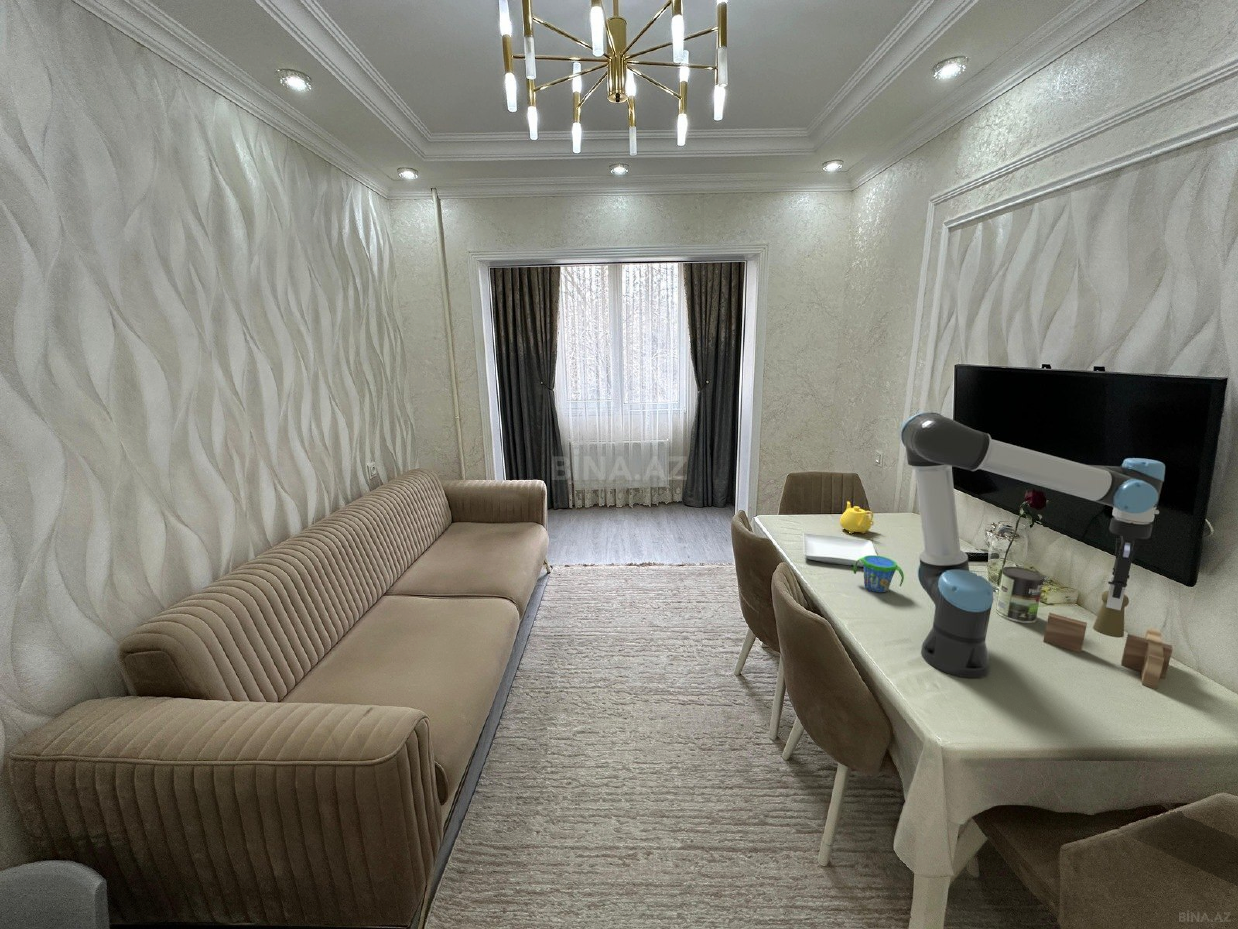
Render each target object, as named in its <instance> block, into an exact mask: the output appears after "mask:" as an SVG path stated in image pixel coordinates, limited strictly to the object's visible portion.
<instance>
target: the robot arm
mask: <svg viewBox="0 0 1238 929" xmlns="http://www.w3.org/2000/svg"><path fill="white" fill-rule="evenodd" d="M900 439H901V442H902V444H903V446H904V447H905V452H906V459H907V460H906V461H907V466H909V467H910V468H911V469H913V470H914V472H915V474H914V475H915V481H916V489H917V490H916V491H917V499H918V506H919V512H920V513H919V515H920V523H921V530H922V539H923V549H924V550H923V551H922V552H921V553H919V555H918V558H919V565H918V567H917V568H918V569H917V579H918V581H919V584H920V585H921V587H922V589H923V590H924V591H925V592H926V594H927V595H928V596H929V598H930V599H931V601H932V602H933V604H934V605H935V606H934V607H935V608H934V615H933V622H932V627H931V628H930V630H929V632H928V634H927V636H926V637H925V639H924V640H923V642H922V644H921V649H920V651H921V652H920V653H921V656H922V659H924V661H925V662H926V663H928V664H929V665H930V666H932V667H934V668H936V669H937V670H939V671H941V672H944V673H946V674H949V675H952V676H957V677H961V678H967V679H979V678H984V677H986V676H987V675H988V673H989V672H990V667H991V663H990V662H991V661H990V657H989V652H988V646H987V643H986V638H987V633H988V627H989V623H990V618H991V611H992V606H993V604H994V588H993V585H992V584H991V583H990V582H989V581H988V579H986V578H985V577H983V576H981V575H977V573H975V572H973V571H970V565H969V556H968V554H967V553H966V552H964V550H963V551H962V549H961V543H960V534H959V525H958V516H957V515H958V514H957V506H956V498H955V489H954V488H955V487H954V478H953V469H952V467H954V468H955V467H956V468H960V469H964V470H966V471H971V472H975V471H977V470H982V471H985V472H986V471H987V472H990V473H993V474H996V475H1001V476H1004V477H1007V478H1011V479H1014V480H1019V481H1022V482H1025V483H1029V484H1031V485H1036V486H1040V487H1043V488H1046V489H1050V490H1054V491H1058V492H1060V493H1064V494H1068V495H1072V496H1075V497H1079V498H1083V499H1086V500H1089V501H1092V502H1095V503H1099V504H1102V505H1107V506H1109V507H1112V508H1113V509H1112V514H1111V515H1112V518H1111V519H1110V524H1109V528H1108V529H1109V531H1110V532H1111V533H1112V534H1115V535H1116V536H1117V535H1118V536H1119V538H1117V537H1116V541H1115V551H1114V552H1115V554H1114V558H1115V559H1114V565H1113V567H1112V573H1111V577H1110V580H1108V581H1107V584H1108V585H1109V586H1108V591H1109V596H1108V600H1107V605H1106V607H1108V608H1112V609H1116V610H1121V606H1122V602H1123V597H1124V594H1125V592H1126V589H1127V588H1126V587H1127V586H1128V579H1129V580H1130V575H1129V574H1130V570H1131V565H1132V562H1133V561H1134V560H1135V556H1136V552H1137V551H1138V547H1139V544H1138V543H1139V541H1136V539H1140V540H1144V539H1145V540H1148V539H1149V538H1150V537H1151V534H1152V531H1153V522H1154V520H1155V515H1159V514H1160V511H1159V509H1157V507H1158V504H1159V500H1160V494H1161V493H1162V492H1161V491H1162V487H1163V483H1164V482H1165V474H1166V465H1165V463H1164V462H1161V461H1159V460H1155V459H1150V458H1149V459H1148V458H1141V457H1140V458H1138V457H1136V458H1135V457H1132V458H1131V457H1129V458H1125V459H1124V460H1123V462H1122V464H1121V465H1119V466H1113V465H1111V466H1110V465H1094V464H1085V463H1080V462H1076V461H1072V460H1069V459H1066V458H1062V457H1058V456H1054V455H1051V454H1047V453H1043V452H1039V451H1036V450H1033V449H1029V448H1025V447H1021V446H1019V445H1018V446H1017V445H1013V444H1012V443H1006V442H1003V441H1000V440H996V439H992V437H991V435H990V434H989V433H988V432H987V433H986V432H983V431H980V430H976V429H973V428H972V427H969V426H967V425H964V424H962V423H960V422H958V421H956V420H954V419H952V418H950V417H947V416H944V415H942V414H941V413H937V412H933V411H931V412H927V411H925V412H920V413H919V412H918V413H916V414H913V415H912V416H910V417H909V418H908V419H907V420H905V422H903V425H902V427H901V429H900Z"/></svg>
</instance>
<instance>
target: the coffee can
mask: <svg viewBox="0 0 1238 929" xmlns="http://www.w3.org/2000/svg"><path fill="white" fill-rule="evenodd" d="M1001 571H1002V572H1001V578H1000V582H999V589H998V593H997V594H998V596H997V602H996V606H995V609H996V611H995V613H996V614H997V613H998V614H997V615H998V616H1000V617H1002V616H1003V617H1002V618H1003V619H1005V620H1006V619H1007V620H1010V621H1011V622H1015V623H1021V624H1034V623H1035V622H1036V621H1037V618H1038V611H1039V610H1038V609H1039V606H1040V601H1041V595H1042V592H1043V587H1044V586H1043V585H1044V582H1045V576H1044V575H1043V574H1041V573H1040V572H1038V571H1035V570H1033V569H1029V568H1024V567H1019V566H1004V567H1003V568H1002V569H1001Z"/></svg>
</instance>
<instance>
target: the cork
mask: <svg viewBox="0 0 1238 929" xmlns="http://www.w3.org/2000/svg"><path fill="white" fill-rule="evenodd" d="M1108 596H1109V590H1105V591H1103V592H1102V593H1101V600H1102V605H1101V607H1100V610H1099V611H1098V614H1097V616H1096V619H1095V622H1094V623H1093V626H1092V629H1093V630H1094V631H1095V632H1097V633H1099V634H1101V635H1105V636H1108V637H1112V638H1124V636H1125V608H1126V607H1127V606H1128V605H1129V603H1130V598H1129V597H1128V596H1127V595H1126V594H1125V593H1124V597H1123V602H1122V606H1121V610H1116V609H1112V608H1108V607H1106V605H1107V600H1108Z"/></svg>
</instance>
